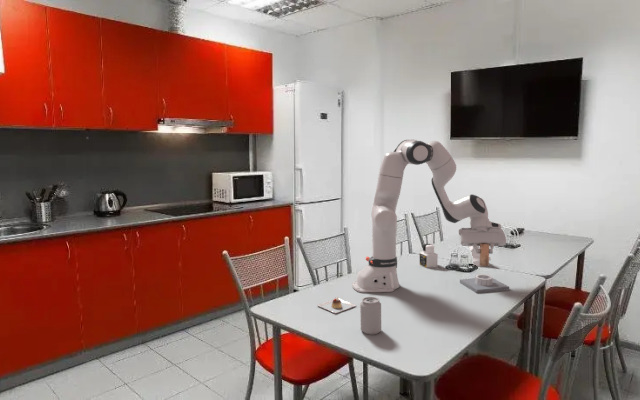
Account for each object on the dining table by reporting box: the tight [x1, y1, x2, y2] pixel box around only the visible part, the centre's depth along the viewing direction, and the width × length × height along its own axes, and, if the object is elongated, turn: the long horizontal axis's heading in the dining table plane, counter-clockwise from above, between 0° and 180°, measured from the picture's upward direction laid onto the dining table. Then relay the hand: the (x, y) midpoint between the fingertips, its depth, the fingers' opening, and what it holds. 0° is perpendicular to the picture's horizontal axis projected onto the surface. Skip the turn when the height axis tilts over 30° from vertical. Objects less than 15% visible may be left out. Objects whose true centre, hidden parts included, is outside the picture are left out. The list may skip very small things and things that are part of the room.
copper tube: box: [479, 243, 490, 268], centre depth 194 cm, size 4×4×10 cm
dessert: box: [316, 296, 357, 314], centre depth 177 cm, size 12×12×5 cm
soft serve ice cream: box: [468, 246, 492, 268], centre depth 233 cm, size 12×15×14 cm
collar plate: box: [459, 274, 510, 294], centre depth 196 cm, size 16×15×4 cm
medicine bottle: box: [419, 243, 439, 269], centre depth 231 cm, size 7×7×12 cm
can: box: [359, 296, 382, 336], centre depth 152 cm, size 8×8×12 cm
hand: (484, 253), depth 194 cm, fingers closed on copper tube, 4 cm apart
